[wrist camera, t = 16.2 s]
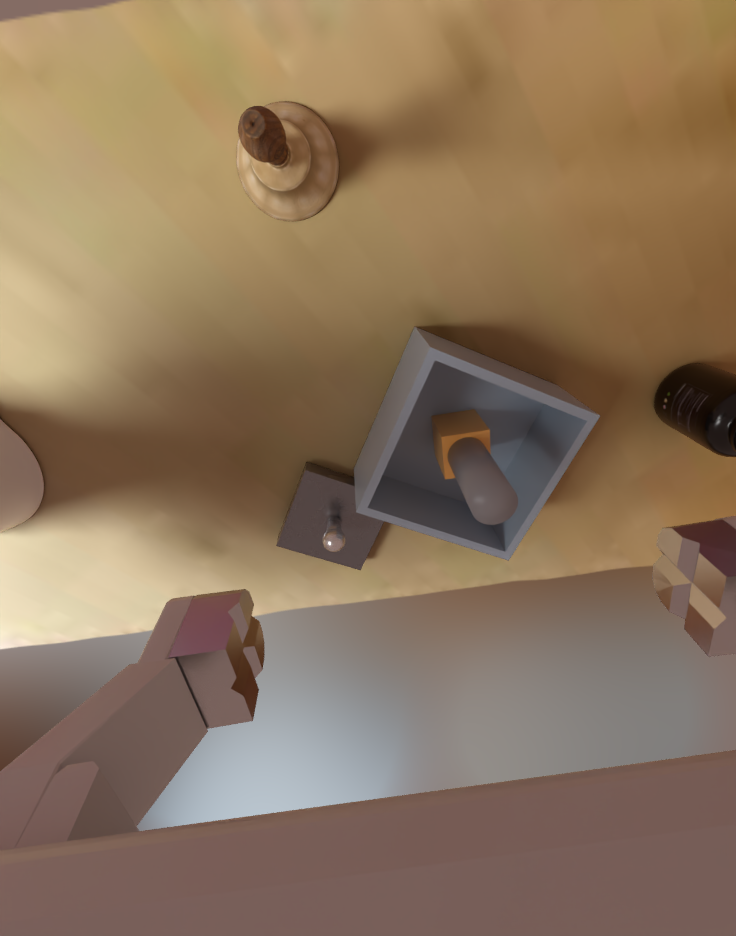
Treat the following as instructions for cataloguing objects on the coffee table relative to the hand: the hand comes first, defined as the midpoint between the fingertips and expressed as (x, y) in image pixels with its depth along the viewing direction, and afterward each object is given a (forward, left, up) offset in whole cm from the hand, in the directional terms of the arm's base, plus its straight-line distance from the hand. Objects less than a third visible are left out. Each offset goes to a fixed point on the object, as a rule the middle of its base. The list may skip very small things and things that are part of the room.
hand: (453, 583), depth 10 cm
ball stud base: (+5, -22, -39) cm, 45 cm away
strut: (+13, -8, -38) cm, 41 cm away
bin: (+13, -8, -39) cm, 42 cm away
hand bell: (-10, +8, -39) cm, 41 cm away
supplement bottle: (+34, +4, -39) cm, 52 cm away
